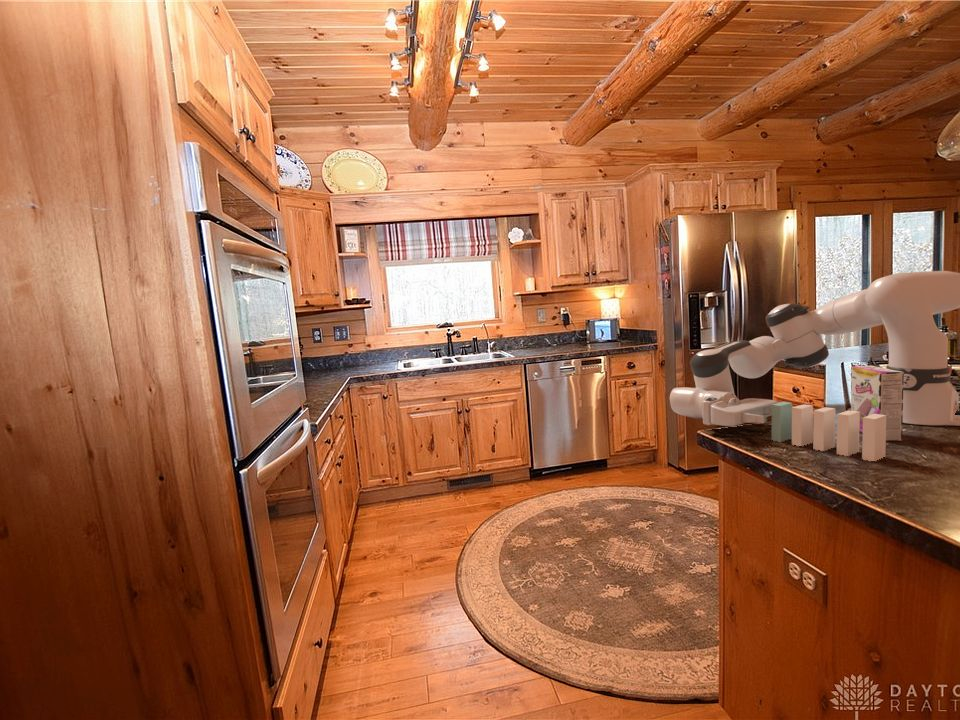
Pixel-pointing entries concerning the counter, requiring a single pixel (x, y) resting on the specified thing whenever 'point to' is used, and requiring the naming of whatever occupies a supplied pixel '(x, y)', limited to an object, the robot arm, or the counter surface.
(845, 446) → the domino
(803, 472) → the counter surface
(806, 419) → the domino
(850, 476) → the counter surface
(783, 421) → the domino
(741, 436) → the counter surface
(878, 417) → the domino
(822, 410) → the domino
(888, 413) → the candy bar box
